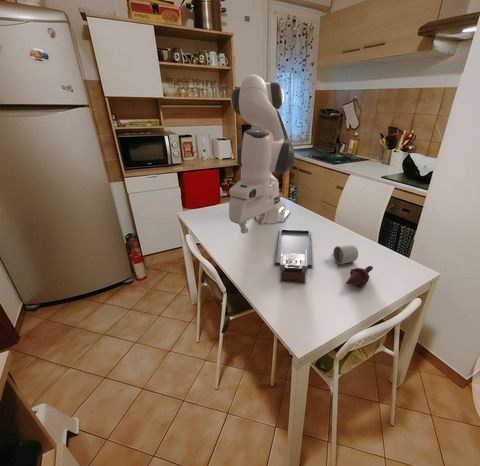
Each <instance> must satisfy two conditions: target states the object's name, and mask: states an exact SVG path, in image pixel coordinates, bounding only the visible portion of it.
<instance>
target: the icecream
mask: <svg viewBox="0 0 480 466" xmlns="http://www.w3.org/2000/svg"><path fill="white" fill-rule="evenodd" d="M373 269H374V267H373V266H372V265H368V266H367V267H365V268H361V267H355V268H351V269H350V271H349V277H348V279H347V281H346V285H356V286H357V287H365V286H366V284H367V283H368V282H369V280H370V275H369V273H370V272H371V271H373Z"/></svg>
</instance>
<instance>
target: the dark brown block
mask: <svg viewBox="0 0 480 466" xmlns="http://www.w3.org/2000/svg"><path fill="white" fill-rule="evenodd" d="M305 281H306V273H302V272H286V271H280V282H281V283H293V284H305Z"/></svg>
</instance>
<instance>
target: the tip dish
mask: <svg viewBox="0 0 480 466" xmlns="http://www.w3.org/2000/svg"><path fill="white" fill-rule="evenodd" d="M283 251H284V248H282V253H281V261H280V266H279V272H281V271H286V272H302V273H305V274H306V273H307V271H308V268H307V249H305V254H292V253H283ZM287 258H290V259H292V262H290V264H287V262H286V259H287ZM296 258H301V259H302V261H301V262H300V265H296V264H297V261H296V260H295V259H296Z"/></svg>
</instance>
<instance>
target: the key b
mask: <svg viewBox="0 0 480 466" xmlns="http://www.w3.org/2000/svg"><path fill="white" fill-rule="evenodd" d="M295 260H296V261H297V264H296V265H300V262H301V261H302V259H301V258H296V259H295Z"/></svg>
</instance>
